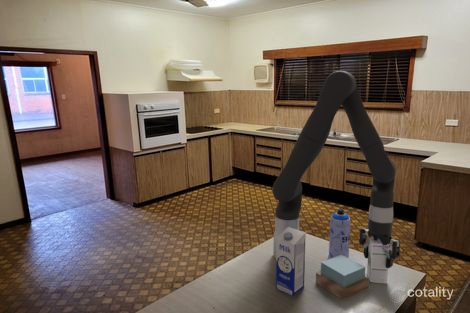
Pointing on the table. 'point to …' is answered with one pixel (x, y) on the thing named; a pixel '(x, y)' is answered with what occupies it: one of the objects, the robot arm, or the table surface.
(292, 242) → the milk carton
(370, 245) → the syrup box
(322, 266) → the teal block
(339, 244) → the aerosol can
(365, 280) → the walnut slab
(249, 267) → the table surface
